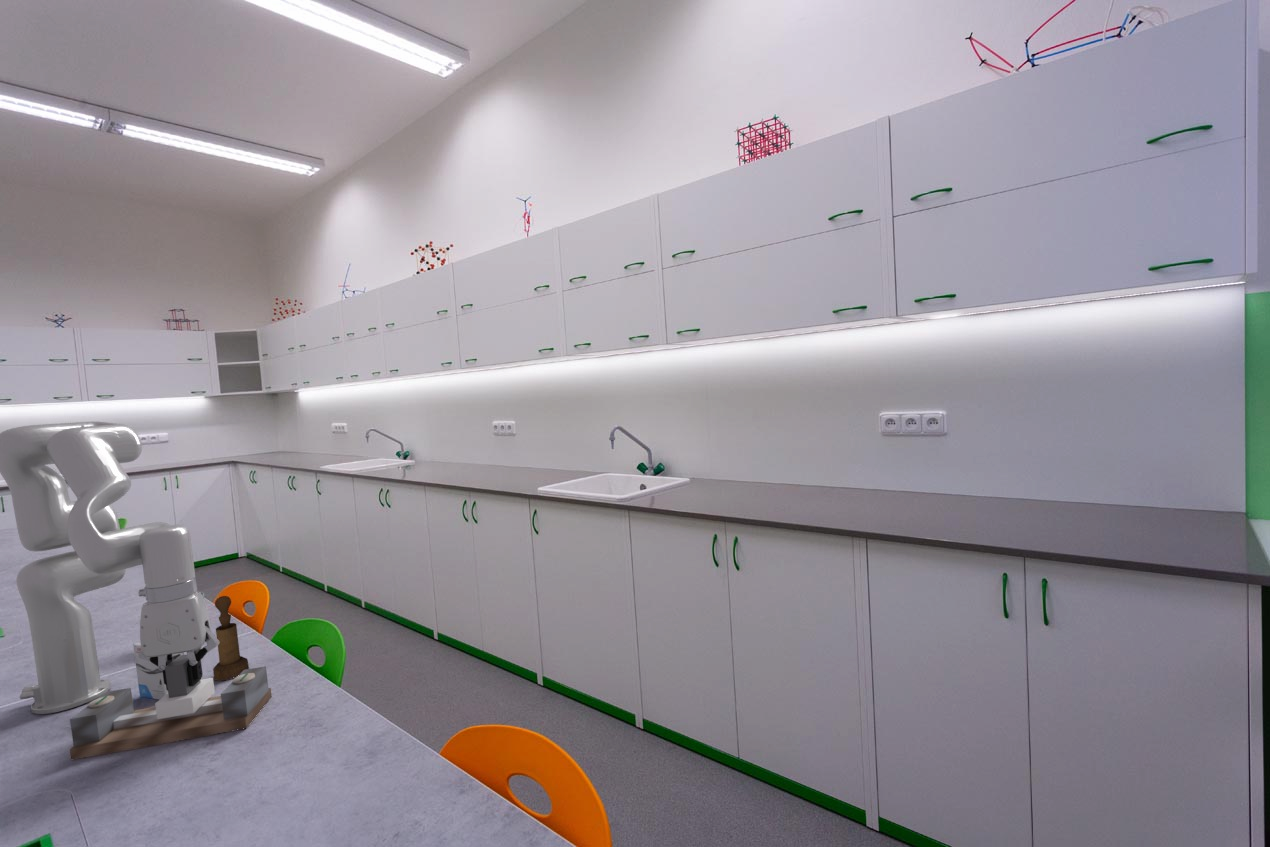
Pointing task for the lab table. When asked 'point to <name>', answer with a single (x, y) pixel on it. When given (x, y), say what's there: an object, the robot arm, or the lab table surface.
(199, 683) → the carriage
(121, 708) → the rail stand
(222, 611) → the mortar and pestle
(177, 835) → the lab table surface
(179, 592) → the robot arm
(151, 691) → the ink box
